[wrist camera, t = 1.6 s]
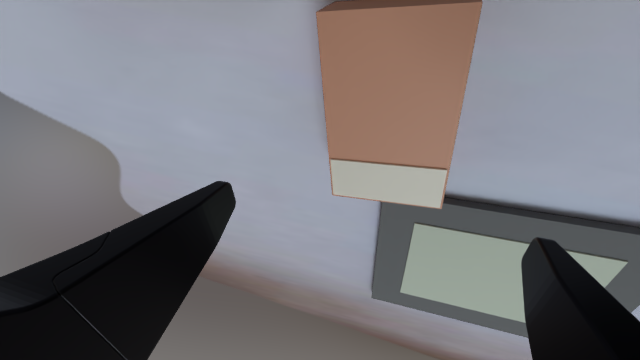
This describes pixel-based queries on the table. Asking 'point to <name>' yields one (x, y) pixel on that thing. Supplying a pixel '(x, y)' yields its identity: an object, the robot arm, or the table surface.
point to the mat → (490, 259)
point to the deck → (394, 94)
